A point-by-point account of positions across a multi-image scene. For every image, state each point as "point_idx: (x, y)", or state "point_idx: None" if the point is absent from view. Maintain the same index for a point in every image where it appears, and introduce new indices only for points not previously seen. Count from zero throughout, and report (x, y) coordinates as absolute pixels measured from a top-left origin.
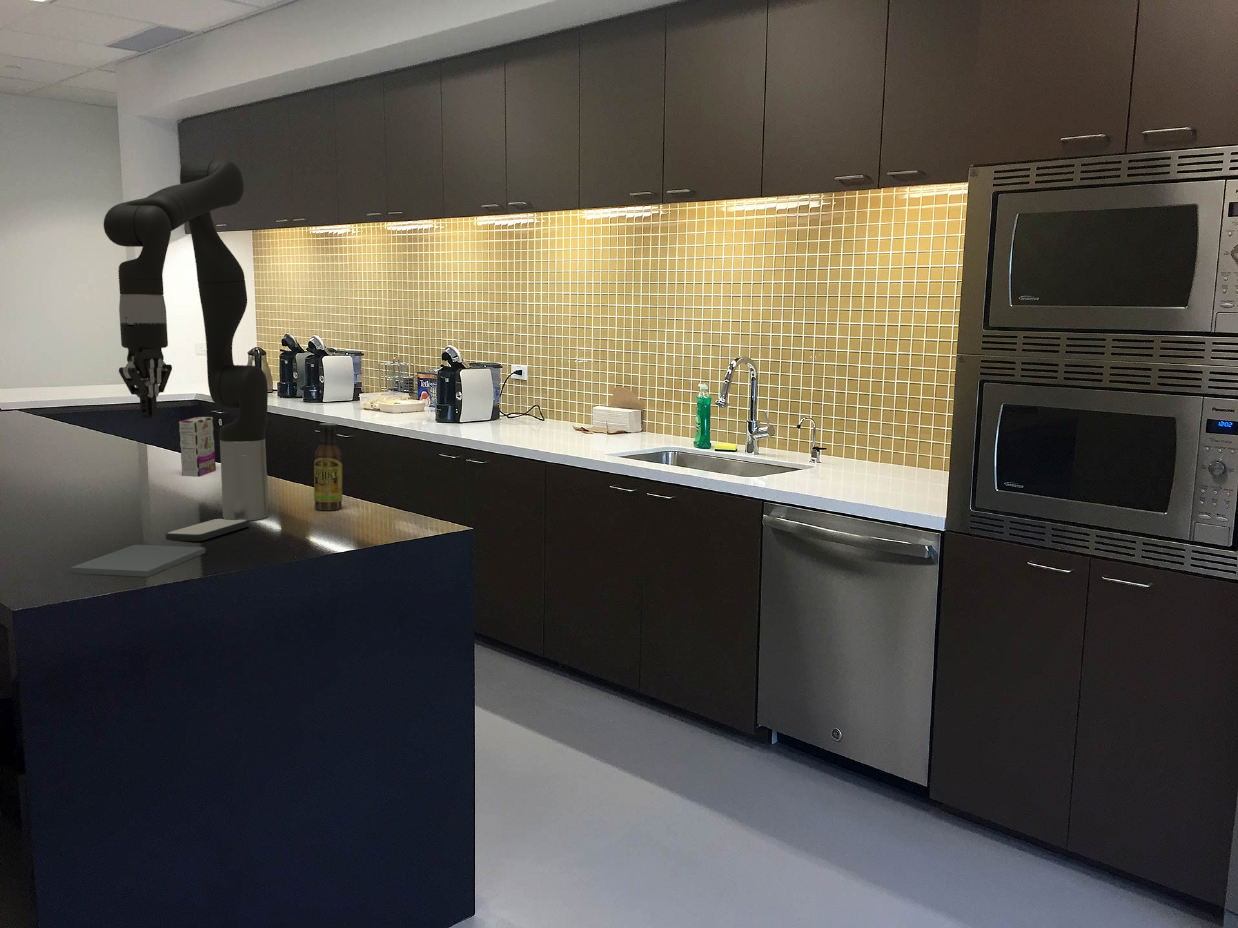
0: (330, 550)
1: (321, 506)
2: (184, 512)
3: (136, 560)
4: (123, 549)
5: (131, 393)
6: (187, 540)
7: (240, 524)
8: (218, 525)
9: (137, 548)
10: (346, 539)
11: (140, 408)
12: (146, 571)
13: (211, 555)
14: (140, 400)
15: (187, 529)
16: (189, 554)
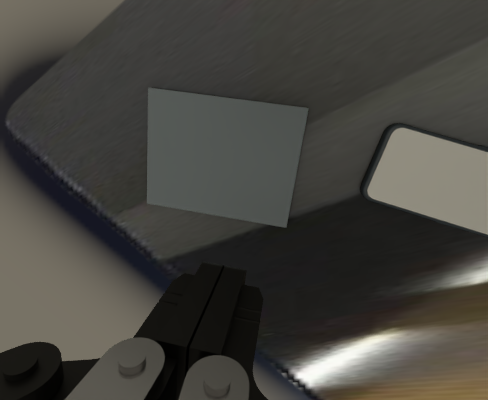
0: (303, 364)
1: None
2: None
3: (199, 163)
4: (268, 107)
5: (19, 349)
6: (367, 171)
7: (468, 231)
8: (452, 200)
9: (277, 127)
10: (373, 375)
11: (163, 296)
12: (147, 202)
13: (271, 237)
14: (137, 336)
15: (424, 154)
16: (244, 219)
